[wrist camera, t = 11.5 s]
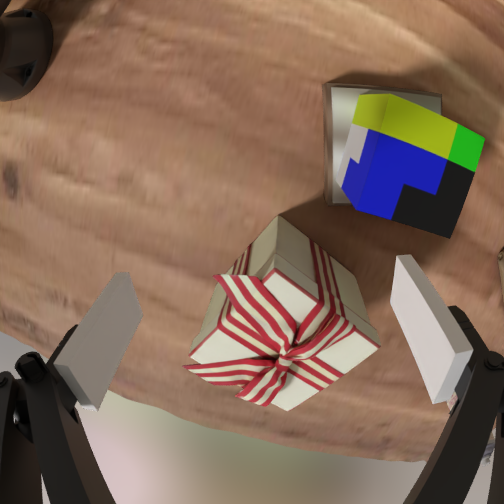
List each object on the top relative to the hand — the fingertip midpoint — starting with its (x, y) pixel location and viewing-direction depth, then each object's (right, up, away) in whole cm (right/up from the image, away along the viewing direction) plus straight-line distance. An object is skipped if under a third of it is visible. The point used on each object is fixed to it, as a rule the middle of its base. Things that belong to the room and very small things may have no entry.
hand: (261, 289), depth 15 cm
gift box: (+3, -2, +30) cm, 30 cm away
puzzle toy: (+15, +13, +17) cm, 26 cm away
